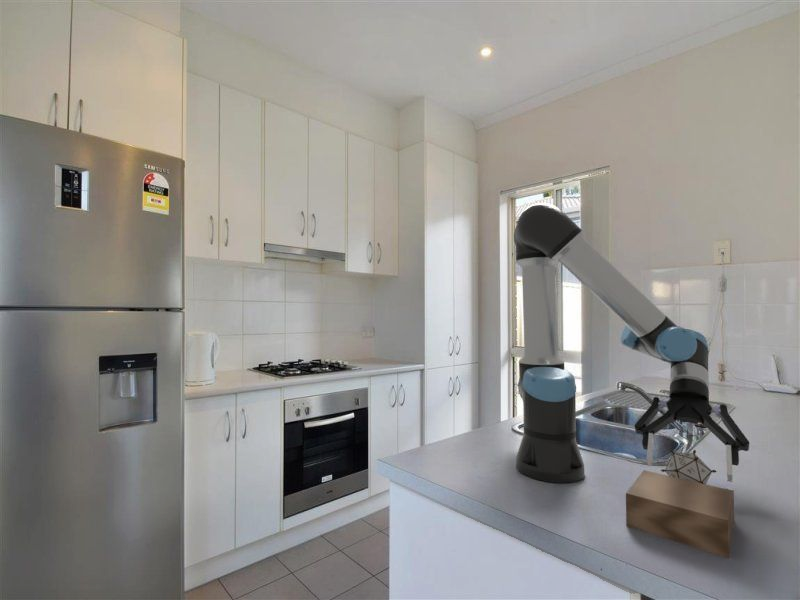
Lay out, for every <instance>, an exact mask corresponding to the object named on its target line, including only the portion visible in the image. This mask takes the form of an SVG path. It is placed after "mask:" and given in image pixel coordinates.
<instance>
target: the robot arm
mask: <svg viewBox="0 0 800 600" xmlns="http://www.w3.org/2000/svg"><path fill="white" fill-rule="evenodd" d="M513 242H514V246H515V263H516V264H517V265H519V266H520V267H521V273H522V275H521V276H522V278H521V279H522V282H521V283H522V308H523V309H522V313H523V315H522V316H523V317H522V318H523V346H524V347H523V348H524V354H523V356H522V357H521V358H520V359H519V360H518V367H519V368H518V370H519V371H518V372H519V373H518V375H519V379H518V383H517V388H518V393H519V396H520V398H521V400H522V405H523V407H522V408H523V411H522V412H523V436H522V439H521V442H520V445H519V448H518V451H517V453H516V456H515V459H516V460H515V463H516V464H515V466H516V469H517V470H518V472H520V473H522V475H524V476H526V477H529V478H532V479H535V480H538V481H544V482H548V483H560V484H561V483H562V484H563V483H574V482H578V481H580V480H582V479H583V478H584V477H585V463H584V460H583V457H582V453H581V451H580V448H579V445H578V443H577V435H576V431H577V429H576V424H577V423H576V420H577V419H576V417H577V416H576V410H577V409H576V406H577V405H576V393H577V384H576V378H575V376H574V375H573V374H572V372H570V371H568V370H566V369H565V361H564V360H563V359H562V357H560V356H559V353H558V352H559V347H558V323H557V322H558V320H557V319H558V318H557V315H558V314H557V313H558V312H557V289H556V288H557V287H556V281H557V280H556V266H557V264H559V263H560V264H561V265H562V266H563V267H564V268H565V269H567V270H568V271H569V272H570V273H571V274H572V276H574V277H575V278H576V279H577V280H578V281H579V282H580V283H581V284H582V285H583V286H584V287H585V288H586V289H588V290H589V292H591V293H592V295H593V296H595V297H596V298H597V299H598V300H599V301H600V302H601V303H602V304H603V305H604V306H605V307H606V308H607V309H608V310H610V312H612V314H613V315H614V316H616V317H617V319H619V320H620V321H621V323H623V324H624V325H625V326H624V327H623V330H622V333H621V336H620V342H621V344H622V345H623V346H624V347H626V348H629V349H631V350H632V351H636V352H639V353H641V354H644V355H647V356H649V357H652V358H655V359H658V360H660V361H662V362H666V363H668V364H670V376H669V383H670V384H669V395H668V397H669V398H668V400H663V399H660V398H659V397H658V396H655V397H653V399H652V403H651V405H650V406H649V407H648V409H646V411H645V412H644V413H643V415H642V416H640V418H639V419H638V420H637V422H635V424H634V430H635V431H634V432H635V434H636V435H641V436H642V443H641V445H642V448H643V450H647V451H646V462H647V466H648V467H653V456H654V455H653V454H654V444H655V443H654V441H655V439H654V435H655V434H657V433H658V432H660V431H662V430H663V429H664V428H667V426H668V425H670V424H674V423H675V422H676V421H677V420H678V421H680V422H681V423H691V424H696V425H697V424H699V423H700V424H701V425H702V426H703V427H705V428H706V429H707V430H709V431H710V432H711V433H712V434H713V435H714V436H715V437H716V438H717V439H718V440H719V441H720V442H721V443H722V444H724V446H725V455H726V456H725V457H726V459H725V460H726V478H727V482H730V483H732V482H733V466H737V467H738V466H739V464H740V455H739V454H740V453H739V452H740V451H744V452H749V450H750V441H749V439H748V438H747V437H746V436H745V434H744V433H743V432H742V430H741V429H740V428H739V426H738V425H737V423H736V422H735V421H734V419H733V418H732V417H731V415H730V413H729V412H728V407H727V405H726V404H723V403H721V404H720V405H719V406H714V405H713V406H712V405H711V404H710V389H709V383H710V381H709V380H710V379H709V354H710V352H709V345H708V339H707V338H706V337H705V335H703V333H701V332H698V331H696V330H688V329H686V328H684V327H682V326H678V325H677V324H676V323H675V322H673V320H671V318H669V317H668V316H667V315H666V314H665V313H664V312H663V311H662V310H661V309H659V308H658V307H657V306H656V304H654V303H653V302H652V301H651V300H650V298H648V297H647V296H646V295H645V294H643V293H642V292H641V291H640V289H638V288H637V287H636V286H635V285H634V284H633V283H632V282H631V281H630V280H629V279H628V278H627V277H625V275H623V274H622V273H621V272H620V271H619V270H618V268H616V267H615V266H614V265H613V264H612V263H611V262H610V261H609V260H608V259H606V257H604V256H603V255H602V254H601V252H599V251H598V250H597V249H596V248H595V247H594V246H593V245H591V244H590V242H589V241H587V239H586V238H584V230H582V229H581V227H580V226H578V224H576V222H574V221H573V220H572V218H570V217H569V216H568V215H567V214H566V213H565V212H563V210H561V208H559V207H557V206H555V205H553V204H551V203H547V202H542V203H541V202H540V203H535V204H533V205H530V206H528V207H527V208H525V209H524V211H523V212H522V213H521V214H520V216H519V218H518V220H517V223H516V226H515V228H514V233H513ZM664 408H667V410H666V411H665V413H663V414H662V415H661V416H659V417H658V418H656V419H655V420H654V418H655V417H656V416H657V415H658V413H659V412H660V411H662V410H663V409H664ZM713 413H714V414H715V415H716V417H718V418H719V419H720V420H721V422H722V423H723V425H724V426H725V428H726V430H727V431H728V432H729V433H730V434H731V435H730V434H729V433H728V432H727V431H726V430H725V429H723V427H721V426H720V425H719V424H718V423H717V422H716V421H715V420H714V419H713V418H712V416H711V415H712V414H713ZM652 420H654V421H652Z"/></svg>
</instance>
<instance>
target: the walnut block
mask: <svg viewBox="0 0 800 600" xmlns="http://www.w3.org/2000/svg"><path fill="white" fill-rule="evenodd" d="M625 515H626V516H625V517H626V518H625V520H626V521H625V522H626V524H625V525H626V527H629V528H632V529H635V530H639V531H642V532H643V533H648V534H651V535H653V536H657V537H661V538H663V539H664V538H665V539H667V540H670V541H674V542H677V543H679V544H683V545H685V546H689V547H692V548H694V549H699V550H701V551H704V552H708V553H710V554H714V555H717V556H721V557H724V558H727V559H729V558H730V554H731V553H730V552H731V547H732V541H733V534H734V529H735V491H734V489H733V490H732V489H728V488H724V487H719V486H715V485H711V484H708V483H706V484H702V483H698V482H694V481H689V480H685V479H680V478H676V477H672V476H669V475H668V474H667V475H666V474H662V473H659V472H653V471H649V470H642V472H641V473H640V474H639V476H638V477H637V478H636V480H635V481H634V482H633V484H631V486H630V487H629V488H628V489H627V491H626V492H625Z"/></svg>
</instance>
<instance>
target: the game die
mask: <svg viewBox="0 0 800 600" xmlns="http://www.w3.org/2000/svg"><path fill="white" fill-rule="evenodd" d="M670 453H671V456H670V458H669V461H668V463H667V465H666V467H665V469H660V471H661V472H662V473H664V472H665V473H666V474H667V476H672V477H676V478H680V479H685V480H689V481H694V482H698V483H702V484H708V481H709V479H710V477H711V475H712V473H717V472H718V470H715V469H712V470H711V468H710V467H709V466H708V465H707V464H706V463H705V462H704V461H703V460H702V459H701V458H699V456H697V454H696V453H697V450H696V449H694V450H693V451H692V452H675V451H674V450H673V449H670Z"/></svg>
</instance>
